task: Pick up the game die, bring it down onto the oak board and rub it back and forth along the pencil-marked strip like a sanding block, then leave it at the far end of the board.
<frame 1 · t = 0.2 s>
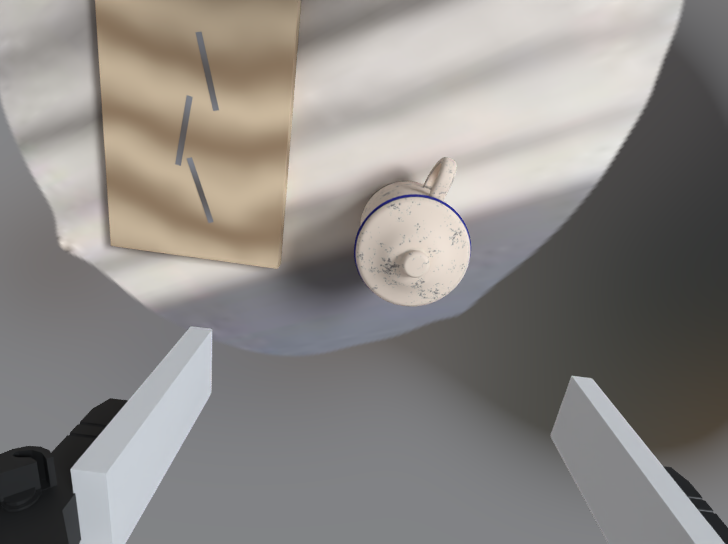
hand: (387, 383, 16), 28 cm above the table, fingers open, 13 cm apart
teacup with lid: (411, 211, 42), on the table
board: (201, 132, 40), on the table
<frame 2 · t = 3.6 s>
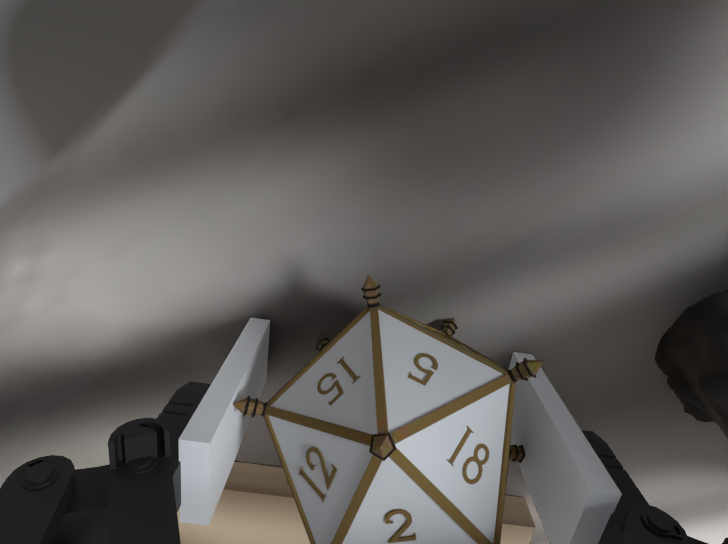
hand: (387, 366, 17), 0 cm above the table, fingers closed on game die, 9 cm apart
game die: (390, 359, 18), on the table, touching gripper
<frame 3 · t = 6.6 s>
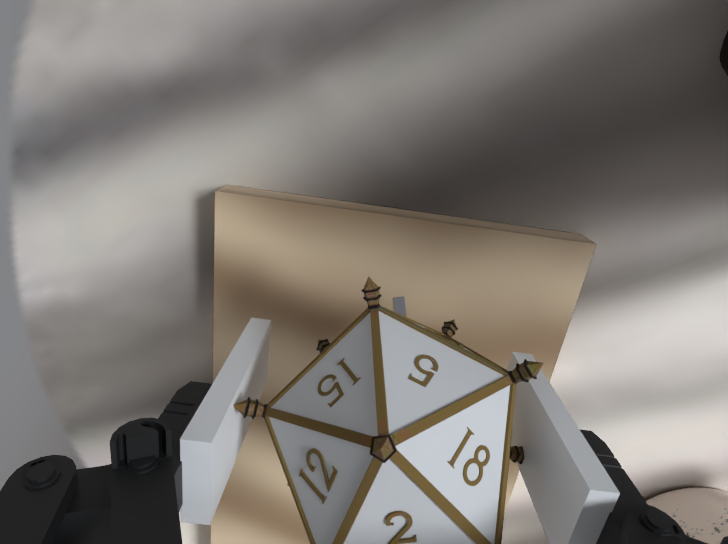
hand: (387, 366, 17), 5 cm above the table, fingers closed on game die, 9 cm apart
teacup with lid: (694, 519, 26), on the table
game die: (391, 360, 18), point 4 cm above the table, touching gripper
board: (369, 417, 24), on the table
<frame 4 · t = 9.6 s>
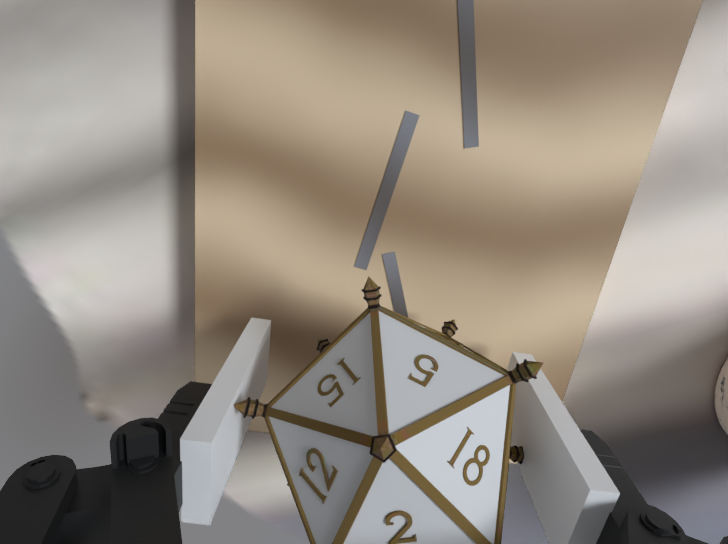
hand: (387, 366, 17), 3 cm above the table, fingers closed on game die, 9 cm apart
game die: (391, 360, 18), point 2 cm above the table, touching gripper
board: (408, 191, 18), on the table
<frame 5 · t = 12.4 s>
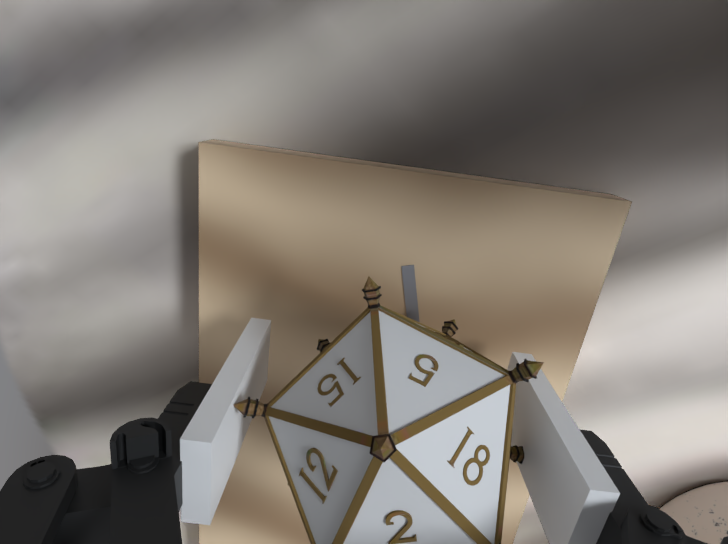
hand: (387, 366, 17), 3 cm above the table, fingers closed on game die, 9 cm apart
game die: (391, 360, 18), point 3 cm above the table, touching gripper
board: (374, 405, 21), on the table
when the fingers open (2 cm above the table, at t = 15.1 s): game die stays where it is, resting on board.
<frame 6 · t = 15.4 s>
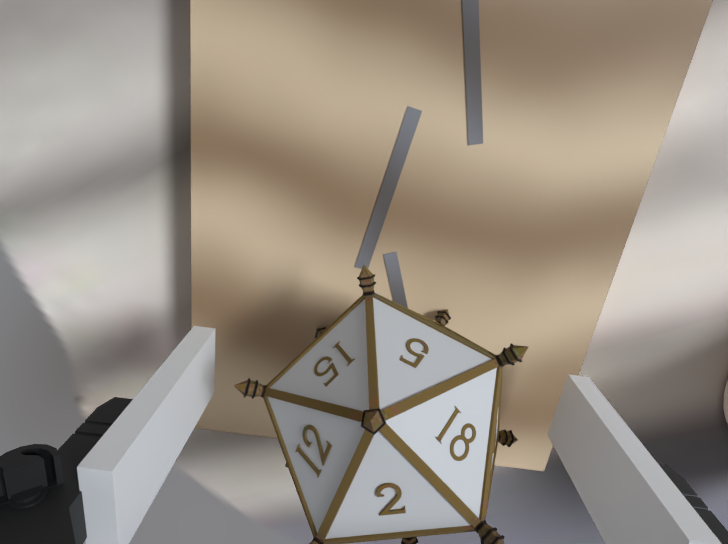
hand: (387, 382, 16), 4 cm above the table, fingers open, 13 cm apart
game die: (386, 348, 18), point 1 cm above the table, touching board
board: (410, 190, 17), on the table
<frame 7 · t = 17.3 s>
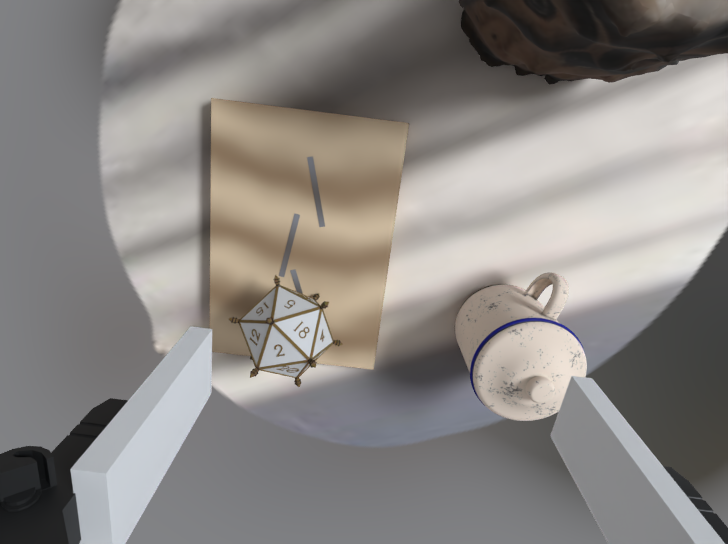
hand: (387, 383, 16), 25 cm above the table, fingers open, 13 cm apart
teacup with lid: (504, 311, 43), on the table
game die: (295, 311, 41), point 1 cm above the table, touching board
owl: (553, 5, 34), on the table
board: (302, 243, 41), on the table
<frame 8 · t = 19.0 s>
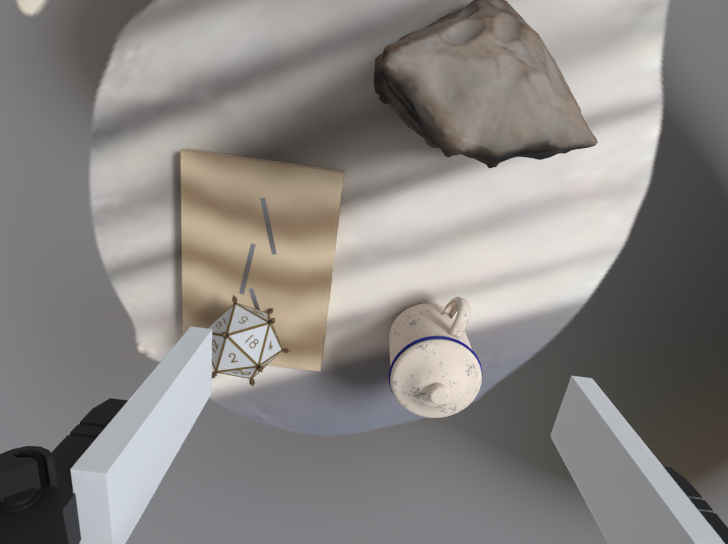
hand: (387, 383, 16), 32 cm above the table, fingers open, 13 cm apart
teacup with lid: (431, 324, 51), on the table
game die: (254, 322, 49), point 1 cm above the table, touching board
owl: (462, 78, 42), on the table
board: (260, 265, 48), on the table
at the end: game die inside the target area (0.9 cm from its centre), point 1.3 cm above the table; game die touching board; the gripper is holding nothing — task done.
